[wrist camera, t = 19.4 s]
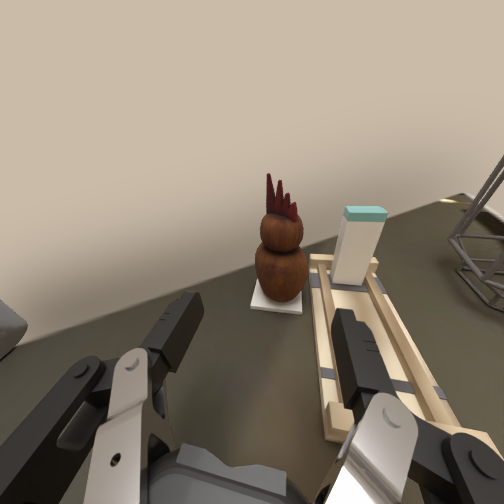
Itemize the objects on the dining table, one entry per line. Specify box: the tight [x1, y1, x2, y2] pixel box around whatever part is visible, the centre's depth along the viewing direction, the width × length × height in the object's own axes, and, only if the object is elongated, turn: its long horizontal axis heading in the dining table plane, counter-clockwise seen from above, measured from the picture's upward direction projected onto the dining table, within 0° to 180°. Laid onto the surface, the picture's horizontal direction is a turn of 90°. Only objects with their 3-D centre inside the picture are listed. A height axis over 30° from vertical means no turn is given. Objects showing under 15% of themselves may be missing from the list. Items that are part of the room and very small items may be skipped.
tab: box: [330, 206, 388, 286], centre depth 22 cm, size 4×2×10 cm, turn 79°
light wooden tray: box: [308, 254, 504, 461], centre depth 20 cm, size 9×20×3 cm, turn 169°
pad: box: [251, 278, 302, 315], centre depth 25 cm, size 6×6×1 cm
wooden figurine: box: [255, 174, 308, 302], centre depth 21 cm, size 7×6×15 cm
